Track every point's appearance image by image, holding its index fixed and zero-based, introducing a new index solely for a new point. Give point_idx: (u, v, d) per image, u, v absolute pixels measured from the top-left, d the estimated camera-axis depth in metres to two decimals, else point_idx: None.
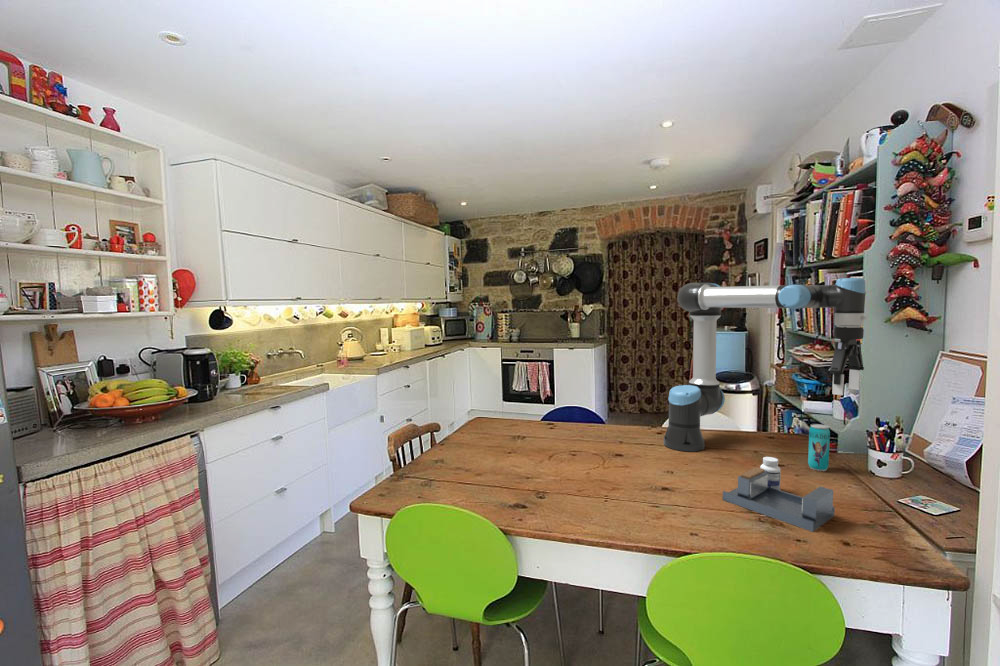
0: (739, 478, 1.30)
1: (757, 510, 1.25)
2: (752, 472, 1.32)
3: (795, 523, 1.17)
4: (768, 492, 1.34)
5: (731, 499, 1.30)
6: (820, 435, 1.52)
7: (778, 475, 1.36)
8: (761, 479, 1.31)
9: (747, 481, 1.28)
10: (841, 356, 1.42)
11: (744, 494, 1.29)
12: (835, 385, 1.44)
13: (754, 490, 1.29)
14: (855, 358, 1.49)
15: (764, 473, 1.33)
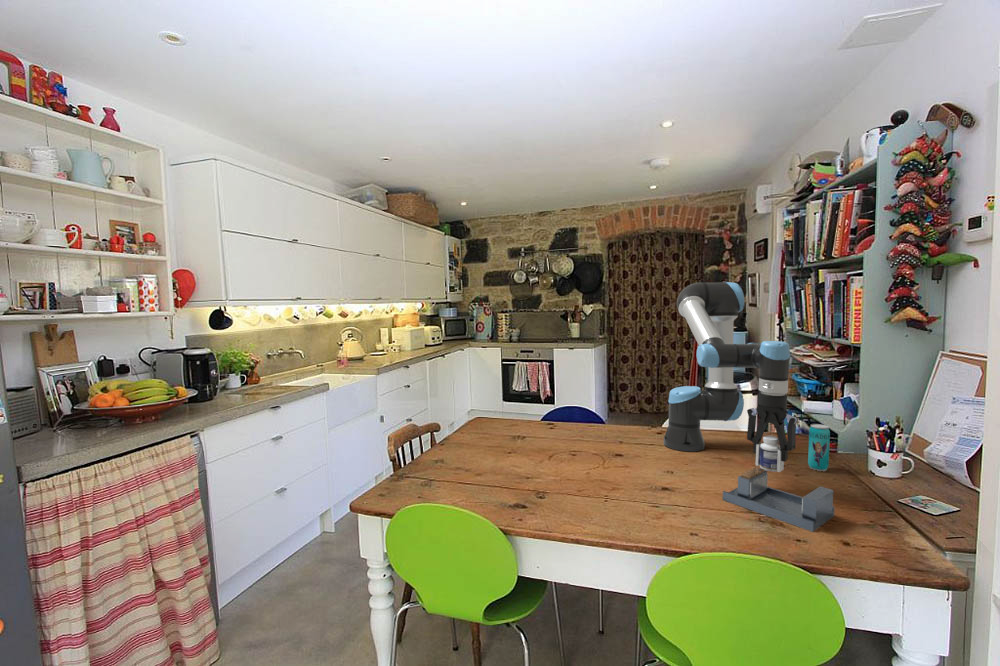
0: (739, 478, 1.30)
1: (757, 510, 1.25)
2: (752, 472, 1.32)
3: (795, 523, 1.17)
4: (768, 492, 1.34)
5: (731, 499, 1.30)
6: (820, 435, 1.52)
7: None
8: (761, 479, 1.31)
9: (747, 481, 1.28)
10: (748, 423, 1.43)
11: (744, 494, 1.29)
12: None
13: (754, 490, 1.29)
14: None
15: (764, 473, 1.33)
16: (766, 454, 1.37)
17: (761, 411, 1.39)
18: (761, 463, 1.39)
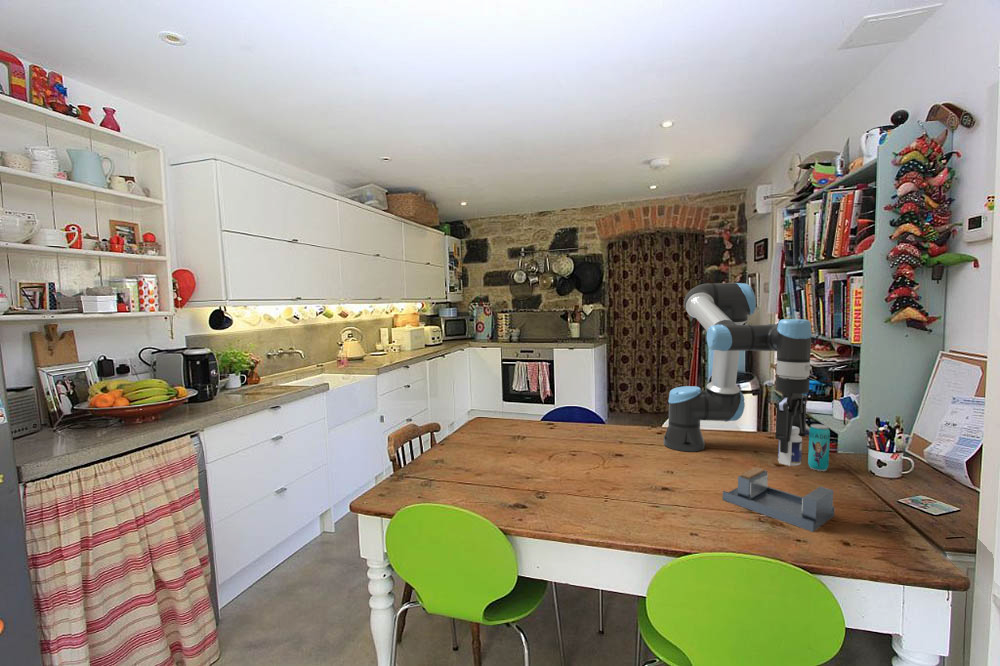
0: (739, 478, 1.30)
1: (757, 510, 1.25)
2: (752, 472, 1.32)
3: (795, 523, 1.17)
4: (768, 492, 1.34)
5: (731, 499, 1.30)
6: (820, 435, 1.52)
7: None
8: (761, 479, 1.31)
9: (747, 481, 1.28)
10: (785, 420, 1.19)
11: (744, 494, 1.29)
12: (782, 453, 1.22)
13: (754, 490, 1.29)
14: (798, 417, 1.24)
15: (764, 473, 1.33)
16: (801, 447, 1.22)
17: (792, 401, 1.20)
18: (796, 460, 1.21)
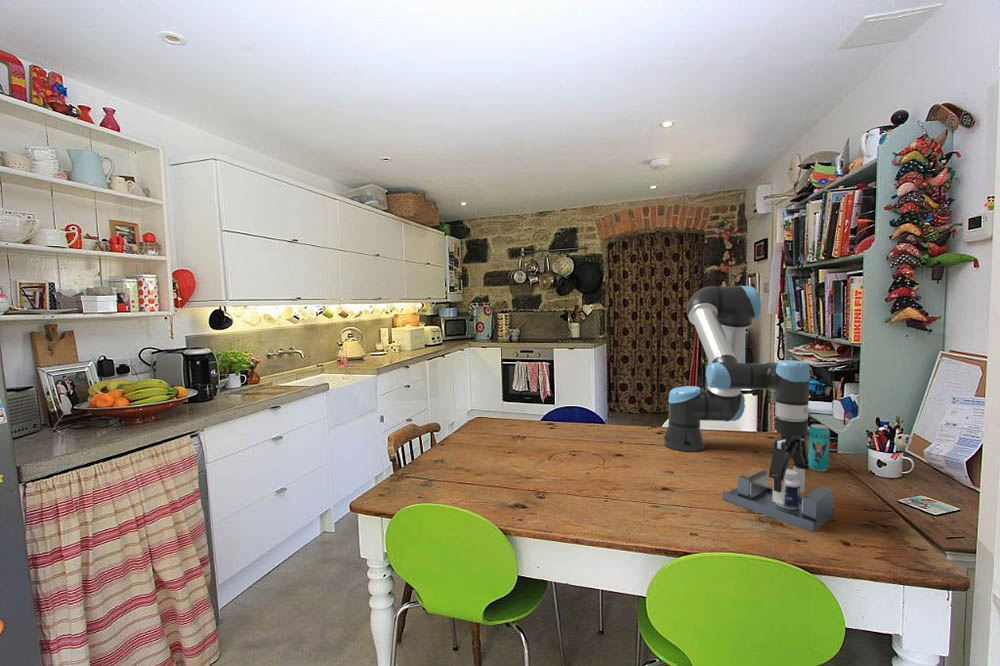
0: (739, 478, 1.30)
1: (757, 510, 1.25)
2: (752, 472, 1.32)
3: (795, 523, 1.17)
4: (768, 492, 1.34)
5: (731, 499, 1.30)
6: (820, 435, 1.52)
7: None
8: (761, 479, 1.31)
9: (747, 481, 1.28)
10: (781, 459, 1.19)
11: (744, 494, 1.29)
12: (775, 491, 1.21)
13: (754, 490, 1.29)
14: (799, 455, 1.25)
15: (764, 473, 1.33)
16: (799, 491, 1.23)
17: (790, 443, 1.21)
18: (794, 504, 1.22)
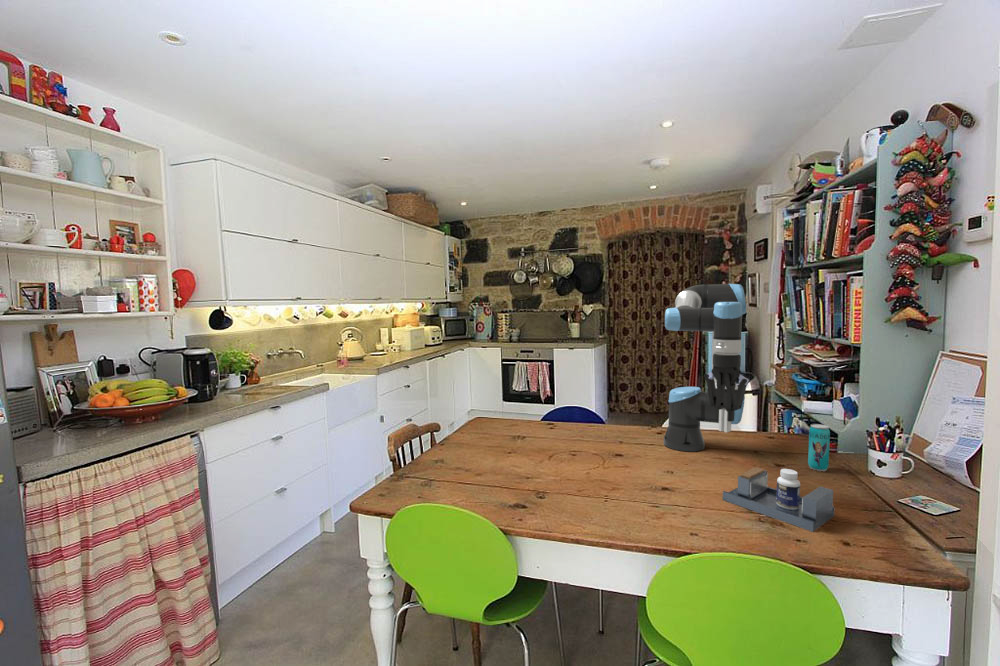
0: (739, 478, 1.30)
1: (757, 510, 1.25)
2: (752, 472, 1.32)
3: (795, 523, 1.17)
4: (768, 492, 1.34)
5: (731, 499, 1.30)
6: (820, 435, 1.52)
7: None
8: (761, 479, 1.31)
9: (747, 481, 1.28)
10: None
11: (744, 494, 1.29)
12: None
13: (754, 490, 1.29)
14: None
15: (764, 473, 1.33)
16: (799, 491, 1.23)
17: (716, 372, 1.38)
18: (794, 504, 1.22)
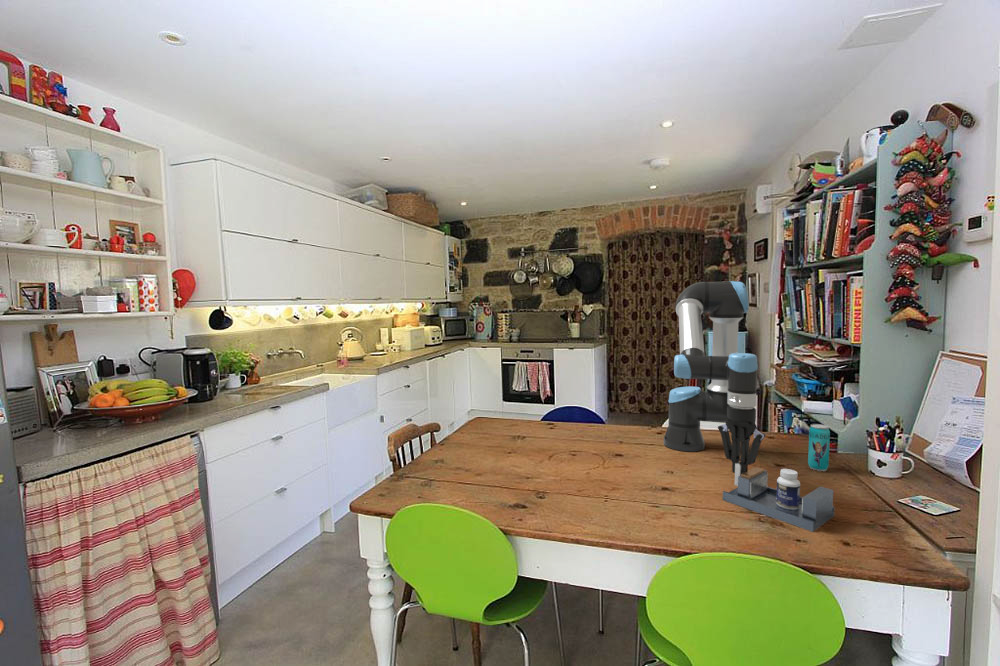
0: (739, 478, 1.30)
1: (757, 510, 1.25)
2: (752, 472, 1.32)
3: (795, 523, 1.17)
4: (768, 492, 1.34)
5: (731, 499, 1.30)
6: (820, 435, 1.52)
7: None
8: (761, 479, 1.31)
9: (747, 481, 1.28)
10: None
11: (744, 494, 1.29)
12: None
13: (754, 490, 1.29)
14: None
15: (764, 473, 1.33)
16: (799, 491, 1.23)
17: (730, 424, 1.35)
18: (794, 504, 1.22)
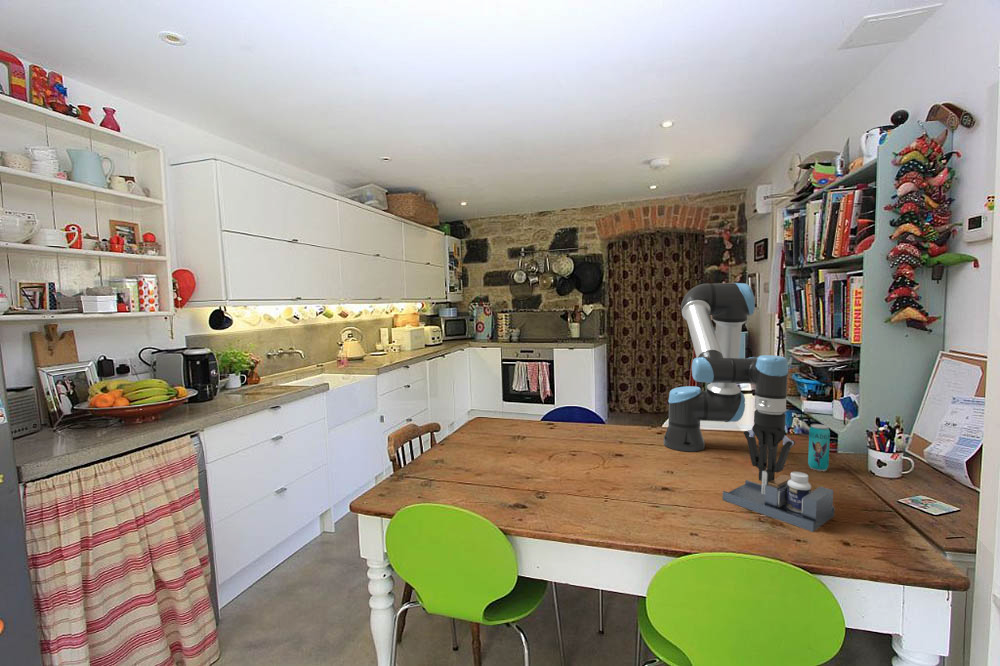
0: (766, 486, 1.24)
1: (757, 510, 1.25)
2: (780, 480, 1.26)
3: (795, 523, 1.17)
4: None
5: (731, 499, 1.30)
6: (820, 435, 1.52)
7: None
8: None
9: (775, 490, 1.22)
10: None
11: (771, 503, 1.23)
12: None
13: (782, 499, 1.23)
14: None
15: None
16: None
17: (757, 430, 1.29)
18: None
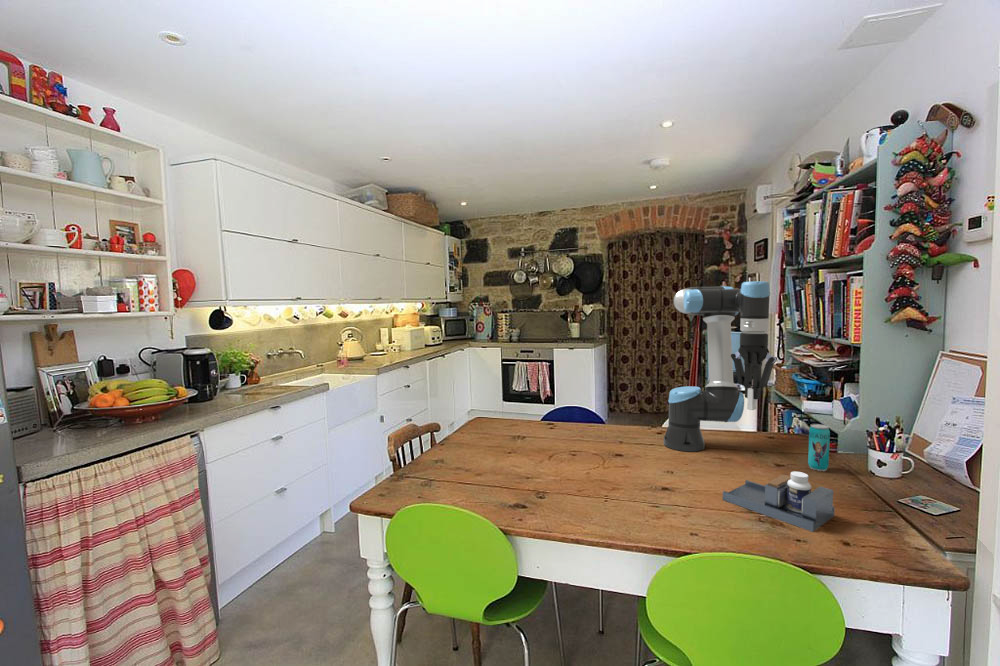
0: (766, 486, 1.24)
1: (757, 510, 1.25)
2: (780, 480, 1.26)
3: (795, 523, 1.17)
4: None
5: (731, 499, 1.30)
6: (820, 435, 1.52)
7: None
8: None
9: (775, 490, 1.22)
10: None
11: (771, 503, 1.23)
12: None
13: (782, 499, 1.23)
14: None
15: None
16: None
17: (743, 351, 1.40)
18: None
